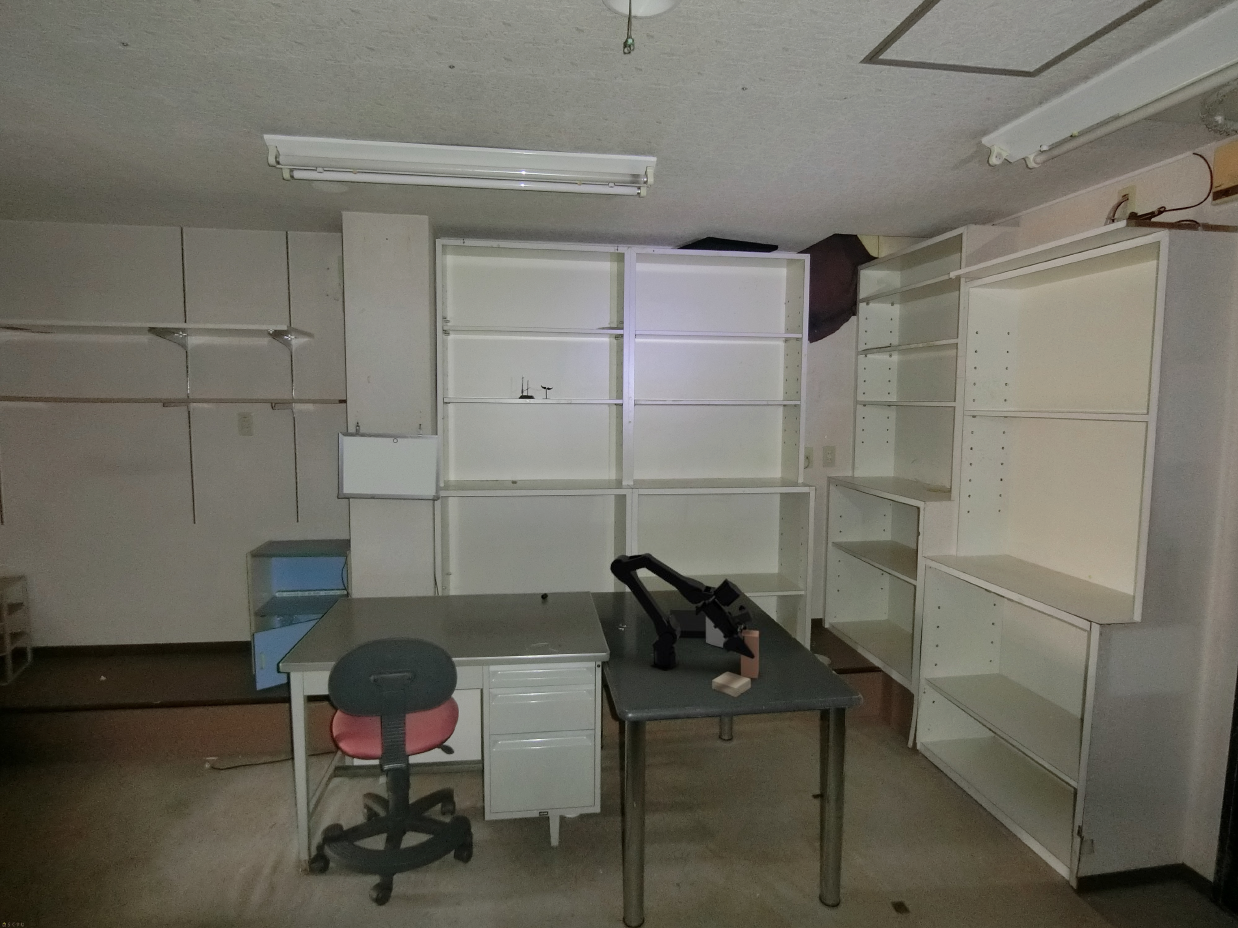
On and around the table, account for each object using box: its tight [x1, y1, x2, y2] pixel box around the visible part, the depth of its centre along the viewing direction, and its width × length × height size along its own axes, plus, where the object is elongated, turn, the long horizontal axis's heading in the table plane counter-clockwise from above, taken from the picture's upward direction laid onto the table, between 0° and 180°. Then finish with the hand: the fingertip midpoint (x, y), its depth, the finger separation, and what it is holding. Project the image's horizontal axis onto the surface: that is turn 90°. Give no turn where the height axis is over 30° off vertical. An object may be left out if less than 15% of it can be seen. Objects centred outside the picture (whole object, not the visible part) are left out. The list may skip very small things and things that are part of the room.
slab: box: [711, 671, 752, 698], centre depth 185 cm, size 8×8×3 cm
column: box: [740, 629, 760, 679], centre depth 194 cm, size 5×5×13 cm
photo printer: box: [705, 617, 725, 649], centre depth 217 cm, size 10×4×12 cm, turn 47°
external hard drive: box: [669, 609, 706, 639], centre depth 236 cm, size 14×23×3 cm, turn 175°
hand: (754, 653), depth 193 cm, fingers open, 6 cm apart
